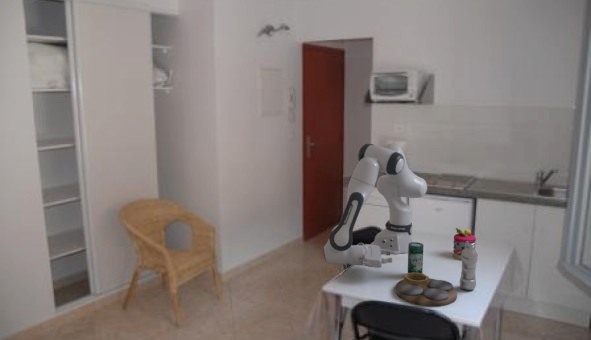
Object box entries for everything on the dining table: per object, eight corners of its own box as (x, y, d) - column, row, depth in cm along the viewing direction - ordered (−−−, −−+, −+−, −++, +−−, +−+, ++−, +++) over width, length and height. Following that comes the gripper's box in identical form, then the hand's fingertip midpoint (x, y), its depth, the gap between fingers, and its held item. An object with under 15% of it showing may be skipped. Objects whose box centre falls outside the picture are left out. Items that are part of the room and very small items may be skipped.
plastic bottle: (455, 288, 197) (458, 242, 194) (465, 284, 201) (467, 239, 198) (469, 293, 192) (472, 246, 189) (479, 289, 196) (481, 242, 193)
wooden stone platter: (388, 299, 187) (388, 288, 186) (403, 278, 208) (403, 268, 207) (451, 311, 176) (452, 299, 175) (460, 288, 197) (461, 277, 196)
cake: (464, 252, 241) (466, 224, 239) (479, 259, 231) (481, 229, 229) (448, 255, 237) (449, 226, 235) (462, 262, 227) (464, 232, 225)
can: (411, 279, 206) (412, 246, 204) (405, 274, 212) (406, 242, 210) (424, 278, 207) (425, 246, 205) (418, 273, 213) (419, 241, 211)
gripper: (360, 256, 201) (393, 257, 199) (359, 241, 221) (389, 242, 219) (359, 270, 202) (392, 272, 200) (359, 254, 222) (389, 255, 220)
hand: (391, 256), depth 210 cm, fingers open, 8 cm apart
